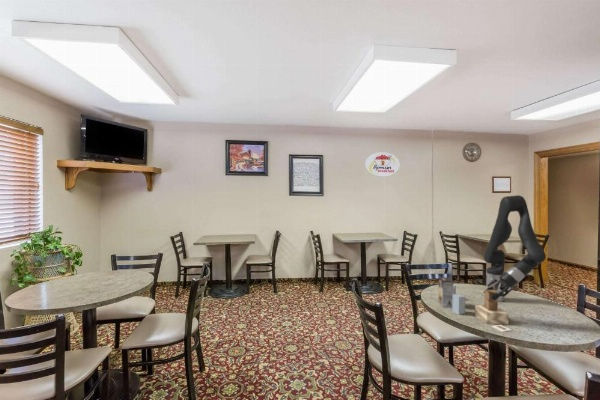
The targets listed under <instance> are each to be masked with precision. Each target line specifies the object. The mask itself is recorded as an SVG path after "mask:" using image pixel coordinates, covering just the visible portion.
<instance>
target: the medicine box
mask: <svg viewBox="0 0 600 400" xmlns="http://www.w3.org/2000/svg"><path fill="white" fill-rule="evenodd" d="M454 294H457V286H456V285H455V284H453V295H454Z"/></svg>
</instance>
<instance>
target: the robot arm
mask: <svg viewBox="0 0 600 400" xmlns="http://www.w3.org/2000/svg"><path fill="white" fill-rule="evenodd" d="M512 212H518V215H519V224H518V228H517V232H518V236H519V238H520V241H521V243H522V246H523V247H525V249H526V251H527V253H526V255H525V256H523V258H521V259H520V260H519V261H517V262H516V263H514V265H512V266H510V267H509V268H508V269H506V271H505V262H506V253H505V252H504V250H502V249H497V248H499V247H500V246H501V245H503V244H505V243H506V242H507V241H508V240H509V239H510V237H511V234H512V232H513V227H512V224H511V223H510V221H509V215H510V214H511V213H512ZM496 216H497V217H496V220H495V224H494V226H493V229H492V232H491V235H490V239H489V242H488V244H487V246H486V248H485V250H484V253H483V259H484V262H486V263H488V264H494V265H492V266H490V267H487V268H486V283H485V284H486V286H485V287H486V289H485V290H494V291H496V292H497V293H495V294H494V295H493V296H492V297H491V298H492V299H493V300H496V299H497V298H498V302H503V301H504V300H505V297H506V296H507V295H508V294H509V293H511V292H512V291H513V287H515V286H516V285H517V284H519V283H520V282H521V281H523V279H524V278H525V277H526V276H528V275H529V274H530V273H531V271H533V269H535V268H536V267H537V266H538V265H540V264H541V263H543V262H544V261H545V260H546V256H547V255H546V253H545V251H544V248H543V247H542V245H541V243H540V242H539V241H538V238H537V236H536V232H535V231H534V228H533V226H532V221H531V216H530V212H529V208H528V203H527V200H526V199H525V198H524V197H523V196H521V195H506V196H504V197H503V198H501V200H500V201H499V207H498V212H497V215H496ZM485 290H483V294H484V295H485Z"/></svg>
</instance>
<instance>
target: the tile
mask: <svg viewBox="0 0 600 400" xmlns="http://www.w3.org/2000/svg"><path fill="white" fill-rule="evenodd" d="M491 328H494V329H496V330H498V331H500V332H502V333H503V332H510V331H511V332H512V331H513V330H512V329H511V328H509V327H507V326H504V325H503V324H493V325H492V326H491Z"/></svg>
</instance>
